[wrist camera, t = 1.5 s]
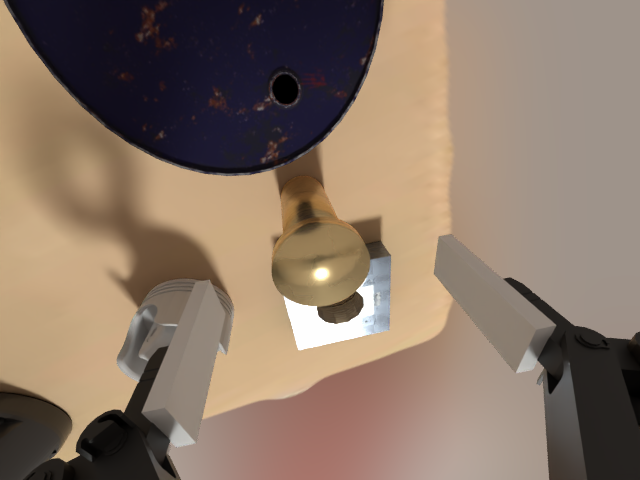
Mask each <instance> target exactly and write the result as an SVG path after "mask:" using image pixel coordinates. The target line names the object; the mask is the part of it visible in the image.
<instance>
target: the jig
mask: <svg viewBox="0 0 640 480" xmlns="http://www.w3.org/2000/svg"><path fill="white" fill-rule="evenodd" d="M365 245H366V247H367V249H368V252H369V255H370V268H369V272H368V275H367V277H366V279H365V281H364V282H363V284H362V285H361V286H360V288H359V289H358V290H357V291H356V293H355V294H354V296H353V298H352V299H350V300H349V301H347V302H346V303H344V304H343V305H338V306H333V307H331V306H319V307H311V306H304V305H300V304H297V303H294V302H292V301H290V300H288V299H287V298H286V297H284V299H285V302H286V306H287V310H288V313H289V317H290V320H291V324H292V328H293V331H294V335H295V338H296V342H297V346H298V349H299V350H301V349H305V348H310V347H314V346H319V345H324V344H328V343H333V342H337V341H342V340H347V339H351V338H356V337H361V336H365V335H370V334H374V333H379V332H384V331H388V330H389V323H390V273H391V255H390V254H389V252H388V251H387V249H386V248H385V246H384V245H383V244H382V242H381V241H380V242H375V243H369V244H365Z"/></svg>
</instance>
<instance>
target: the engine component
mask: <svg viewBox="0 0 640 480" xmlns="http://www.w3.org/2000/svg"><path fill="white" fill-rule="evenodd" d="M199 281H201V280H196V279H186V278H185V279H174V280H169V281H166V282H163V283H161V284H159V285H157V286H155V287H154V288H153V289H152V290H151V291H150V292H149V293H148V294H147V295H146V297H145V299H144V301H143V302H142V304H141V306H140V307H139V309H138V310H137V312H136V314H135V315H134V317H133V319H132V322H131V324H130V327H129V330H128V333H127V337H126V340H125V342H124V345H123V347H122V349H121V351H120V352H119V354H118V357H117V365H118V367H119V368H120V370H121V371H122V372H123V373H125V374H126V375H127V376H128V377H130V378H132V379H133V380H135V381H137V382H139V380H140V378H141V375H142V373H144V369H145V367H146V365H147V363H148V360H149V359H150V357H151V356H152V355H153V354H154V353H155V352H156V350H157V349H158V348H161V347H166V346H169V345H170V342H171V340H172V338H173V335H174V333H175V330H176V328H177V326H178V323H179V321H180V318H181V316H182V314H183V311H184V309H185V306H186V304H187V302H188V299H189V297H190V294H191V292H192V290H193V287H194V285H195V282H199ZM212 286H213V288H214V290H215V292H216V294H217V297H218V299H219V301H220V303H221V305H222V307H223V309H224V312H225V314H226V315H225V319H224V323H223V328H222V332H221V337H220V341H219V345H218V350H217V352H218V351H220V350H221V352H222V353H224V354H227V351H228V345H229V340H230V335H231V329H232V323H233V318H234V306H233V303H232V301H231V299H230V298H229V296H228V295H227V294H226V293H225V292H224V291H223V290H221V289H220V288H218V287H217V286H215V285H213V284H212ZM170 448H171V445H170V444H169V446H168V449H167V454H168V455H169V451H170Z"/></svg>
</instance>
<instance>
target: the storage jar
mask: <svg viewBox="0 0 640 480" xmlns="http://www.w3.org/2000/svg"><path fill="white" fill-rule="evenodd" d="M4 3H5V5H6V7H7V8H8V10H9V12H10V13H11V15H12V17H13V18H14V20H15V22H16V23H17V25H18V26H19V28H20V30H21V31H22V33H23V35H24V36H25V38H26V40H27V41H28V43H29V45H30V46H31V47H32V49H33V50H34V51H35V53H36V54H37V55H38V57H39V58H40V59H41V60H42V62H43V63H44V64H45V66H46V67H47V68H48V70H49V71H50V72H51V74H52V75H53V76H54V78H55V79H56V80H57V81H58V82H59V83H60V84H61V85H62V86H63V87H64V88H65V89H66V90H67V92H68V93H69V94H70V95H71V96H72V97H73V98H74V99H75V100H76V101H77V102H78V103H79V104H80V105H81V106H82V107H83V108H84V109H85V110H86V111H88V112H89V113H90V114H91V115H92V116H93V117H95V118H96V119H97V120H98V121H99V122H100V123H101V124H103V125H104V126H105V127H106V128H108V129H109V130H110V131H112V132H113V133H115V134H116V135H118V136H119V137H121V138H122V139H123V140H125V141H126V142H128V143H129V144H131V145H132V146H134V147H136V148H138V149H140V150H142V151H144V152H145V153H147V154H149V155H151V156H153V157H155V158H157V159H159V160H162V161H164V162H167V163H170V164H172V165H175V166H177V167H180V168H183V169H188V170H192V171H196V172H200V173H204V174H213V175H223V176H236V175H251V174H256V173H261V172H266V171H270V170H273V169H276V168H278V167H281V166H283V165H286V164H289V163H291V162H293V161H294V160H296V159H298V158H300V157H301V156H303V155H305V154H306V153H308V152H309V151H311V150H312V149H313V148H314V147H316V146H317V145H318V144H319V143H321V142H322V141H323V140H324V139H325V138H326V137H327V136H328V135H329V134H330V133H331V132H332V131H333V130H334V128H335V127H336V126H337V125H338V124H339V123H340V122H341V120H342V119H343V117H344V116H345V115H346V113H347V112H348V110H349V109H350V107H351V106H352V104H353V103H354V101H355V99H356V97H357V95H358V93H359V91H360V89H361V87H362V85H363V83H364V81H365V79H366V76H367V74H368V71H369V68H370V65H371V62H372V59H373V56H374V53H375V50H376V46H377V41H378V36H379V31H380V26H381V22H382V16H383V5H384V0H4Z"/></svg>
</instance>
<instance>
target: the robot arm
mask: <svg viewBox="0 0 640 480" xmlns="http://www.w3.org/2000/svg"><path fill="white" fill-rule="evenodd" d="M434 275H435V276H436V277H437V278H438V279H439V281H440V282H441V283H442V284H443V286H444V287H445V288H446V289H447V290H448V292H449V293H450V294H451V295H452V296H453V298H454V299H455V300H456V301H457V303H458V304H459V305H460V306H461V307H462V309H463V310H464V311H465V312H466V314H467V315H468V316H469V317H470V318H471V319H472V321H473V322H474V323H475V325H476V326H477V327H478V328H479V329H480V331H481V332H482V333H483V334H484V336H485V337H486V338H487V339H488V340H489V342H490V343H491V344H492V345H493V346H494V348H495V349H496V350H497V351H498V353H499V354H500V355H501V356H502V357H503V359H504V360H505V361H506V362H507V364H508V365H509V366H510V367H511V368H512V370H513V371H514V372H515V373H519V372H524V371H528V370H533V368H534V367H535V365H536V363H537V361H539V362H540V363H541V365H543V367H544V370H543V371H542V373H541V375H540V376H539V378H538V381H537V384H538V385H540V384H541V383H542V381H543V388H544V404H545V420H546V436H547V452H548V467H549V480H640V332H638V333H636V334H635V335H634V337H633V338H632V339H631V340H628V339H616V338H606V337H604V336H603V335H601V334H599V333H598V332H596V331H594V330H591V329H588V328H585V327H579V326H574V325H573V324H571V323H570V322H569V321H568V320H566V319H565V318H564V317H563V316H561V315H560V314H559V313H558V312H556V311H555V310H554V309H553V308H552V307H551V306H549V305H548V304H547V303H546V302H544V301H543V300H541V299H540V297H538V296H537V295H536V294H535V293H532V291H531V290H530V289H529V288H527V287H526V286H525V285H524V284H522V283H520V282H518V281H516V280H514V279H512V278H505V279H503V278H501V277H500V276H499V275H498V274H497V273H496V272H494V271H493V270H492V269H491V268H490V267H489V266H487V265H486V264H485V263H484V262H483V261H482V260H481V259H479V258H478V257H477V256H476V255H475V254H474V253H473V252H471V251H470V250H469V249H468V248H467V247H466V246H464V245H463V244H462V243H461V242H460V241H459V240H458V239H456V238H455V237H454V236H453V235H452V234H450V235H444V236H439V238H438V245H437V253H436V260H435V268H434ZM225 315H226V314H225V312H224V309H223V307H222V305H221V303H220V301H219V299H218V297H217V294H216V292H215V290H214V288H213V286H212V284H211V281H210V280H204V281H199V282H195V285H194V287H193V290H192V292H191V294H190V297H189V299H188V302H187V304H186V306H185V309H184V311H183V314H182V316H181V318H180V321H179V323H178V326H177V328H176V330H175V333H174V335H173V338H172V340H171V342H170V345H169V346H166V347H161V348H158V349H157V350H156V352H155V353H154V354H153V355H152V356H151V357H150V359H149V360H148V363H147V365H146V367H145V369H144V373H142V375H141V378H140V380H139V383H138V384H137V386H136V388H135V390H134V393H133V395H132V397H131V399H130V401H129V403H128V405H127V407H126V410H125V412H124V413H123V412H122V411H121V410H111V411H107V412H105V413H103V414H102V415H100V416H98V417H97V418H96V419H94V420H93V421H92V422H91V423H90V424H89V425H88V426H87V427H86V429H85V430H84V431H83V432H82V434H81V435H80V437H79V440H78V442H77V444H76V452H77V453H79V454H80V456H78V457H76V458H74V459H72V460H70V461H68V462H67V463H66V462H65V461H63V460H61V459H60V458H56V459H51V458H52V457H54V456H55V455H56V454H57V453H58V451H59V450H60V449H61V447H62V446H63V444H64V442H65V441H66V439H67V437H68V436H69V434H70V432H71V430H72V422H71V420H70V418H69V417H68V416H67V415H66V414H65V413H64V412H63V411H62V410H60V409H58V408H57V407H55V406H53V405H51V404H49V403H46V402H44V401H41V400H38V399H34V398H30V397H26V396H21V395H15V394H7V393H0V480H181V479H180V477H179V475H178V473H177V470H176V468H175V466H174V464H173V462H172V460H171V458H170V456H169V455H168V454H167V449H168V446H169V443H170V442H172V444H174V446H176V447H180V446H185V445H190V444H194V443H196V442H197V437H198V433H199V429H200V424H201V420H202V416H203V411H204V407H205V403H206V398H207V394H208V389H209V385H210V381H211V376H212V372H213V367H214V363H215V359H216V354H217V350H218V345H219V341H220V337H221V332H222V328H223V323H224V319H225Z"/></svg>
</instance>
